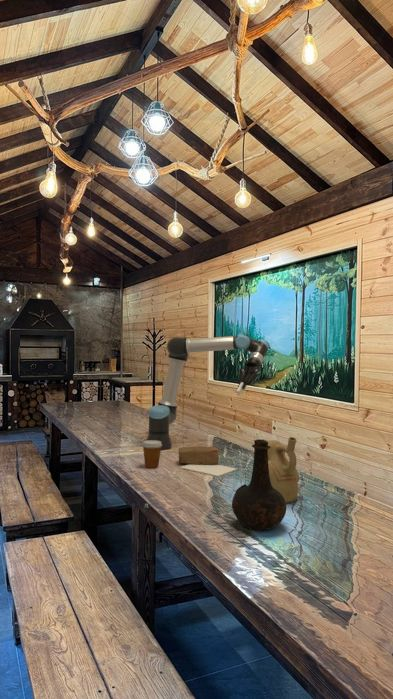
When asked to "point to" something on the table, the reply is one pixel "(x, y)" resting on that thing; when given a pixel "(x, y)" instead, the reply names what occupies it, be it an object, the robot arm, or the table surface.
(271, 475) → the ceramic vessel
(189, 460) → the block
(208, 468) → the mat
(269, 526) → the glass bottle
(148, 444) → the disposable coffee cup
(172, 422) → the robot arm
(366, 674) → the table surface
